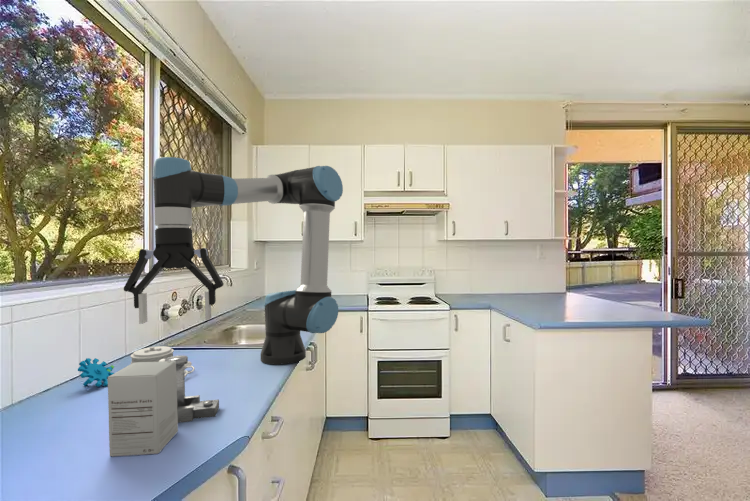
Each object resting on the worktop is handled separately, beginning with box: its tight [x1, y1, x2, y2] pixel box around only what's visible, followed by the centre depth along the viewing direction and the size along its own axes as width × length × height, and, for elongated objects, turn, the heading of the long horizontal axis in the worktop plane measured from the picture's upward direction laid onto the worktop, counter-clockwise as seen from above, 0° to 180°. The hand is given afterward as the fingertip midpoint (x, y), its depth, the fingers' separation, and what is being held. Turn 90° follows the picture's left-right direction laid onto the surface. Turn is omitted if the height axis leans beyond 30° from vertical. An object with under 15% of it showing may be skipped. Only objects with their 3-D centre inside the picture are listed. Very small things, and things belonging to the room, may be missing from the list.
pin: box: [165, 355, 189, 407], centre depth 88 cm, size 5×5×13 cm
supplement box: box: [107, 361, 179, 457], centre depth 76 cm, size 9×9×15 cm
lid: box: [130, 345, 175, 364], centre depth 130 cm, size 13×13×5 cm
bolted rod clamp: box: [177, 394, 220, 424], centre depth 88 cm, size 17×7×3 cm, turn 103°
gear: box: [77, 357, 115, 387], centre depth 110 cm, size 11×6×10 cm
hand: (176, 320), depth 88 cm, fingers open, 13 cm apart
